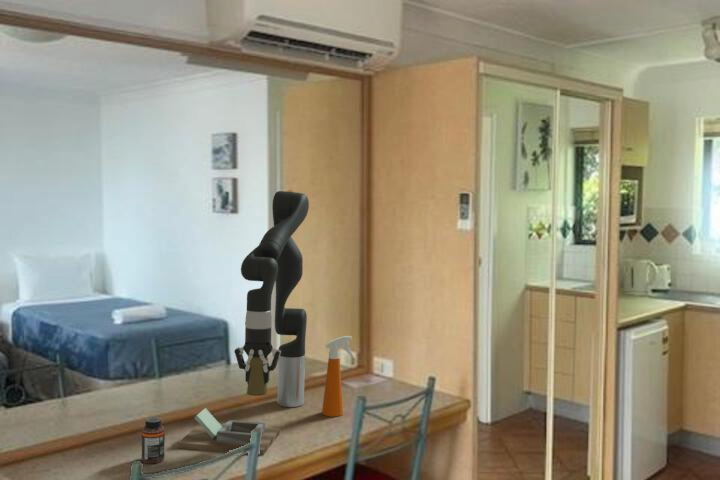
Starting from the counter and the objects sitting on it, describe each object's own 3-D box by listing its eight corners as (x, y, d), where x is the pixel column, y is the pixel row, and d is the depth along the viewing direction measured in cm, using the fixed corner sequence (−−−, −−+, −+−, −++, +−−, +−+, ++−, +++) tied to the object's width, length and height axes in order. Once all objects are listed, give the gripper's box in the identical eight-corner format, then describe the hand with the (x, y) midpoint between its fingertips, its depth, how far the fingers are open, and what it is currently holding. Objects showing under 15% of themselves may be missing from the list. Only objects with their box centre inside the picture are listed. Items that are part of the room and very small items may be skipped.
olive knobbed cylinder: (263, 396, 202) (264, 358, 202) (243, 394, 203) (244, 357, 203) (270, 390, 208) (271, 354, 208) (250, 389, 209) (251, 352, 209)
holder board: (201, 427, 218) (201, 412, 218) (279, 433, 215) (280, 418, 215) (178, 447, 201) (178, 432, 200) (263, 455, 197) (263, 439, 197)
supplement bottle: (144, 455, 194) (144, 415, 193) (166, 455, 194) (166, 415, 194) (139, 464, 188) (139, 422, 187) (162, 464, 188) (162, 422, 188)
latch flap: (202, 410, 211) (205, 407, 211) (221, 431, 211) (224, 429, 210) (194, 417, 204) (196, 415, 204) (213, 439, 204) (216, 437, 204)
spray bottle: (354, 417, 233) (357, 338, 231) (322, 416, 232) (324, 337, 230) (353, 410, 240) (355, 333, 238) (321, 410, 239) (323, 333, 237)
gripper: (285, 324, 208) (283, 381, 209) (238, 322, 209) (237, 379, 210) (279, 329, 200) (278, 388, 201) (230, 326, 202) (229, 385, 203)
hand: (257, 383), depth 206 cm, fingers closed on olive knobbed cylinder, 4 cm apart
